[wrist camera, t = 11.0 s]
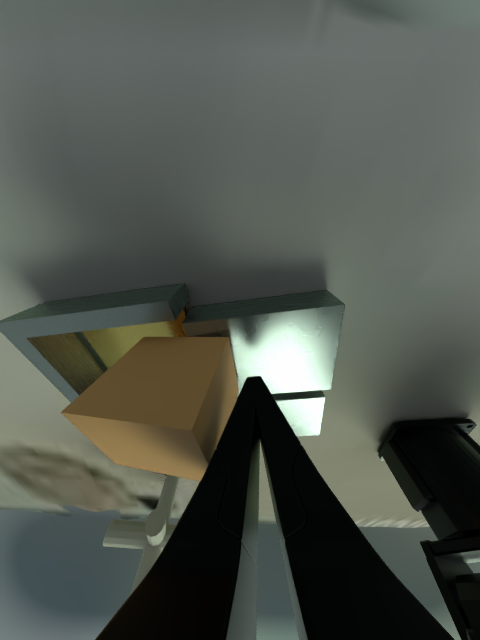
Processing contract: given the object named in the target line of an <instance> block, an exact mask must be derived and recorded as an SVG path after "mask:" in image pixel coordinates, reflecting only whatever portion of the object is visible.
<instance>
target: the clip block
mask: <svg viewBox="0 0 480 640" xmlns="http://www.w3.org/2000/svg"><path fill="white" fill-rule="evenodd" d="M238 391H239V388H238V383H237V377H236V372H235V367H234V362H233V357H232V352H231V346H230V341H229V337H143V338H142V339H141V340H140V341H139V342H138V343H137V344H135V345H134V346H133V347H132V348H131V349H130V350H129V351H128V352H127V353H126V354H124V355H123V356H122V357H121V358H120V359H119V360H118V361H117V362H116V363H115V364H114V365H112V366H111V367H110V368H109V369H108V370H107V371H106V372H105V373H104V374H103V375H101V376H100V377H99V378H98V379H97V380H96V381H95V382H94V383H93V384H92V385H90V386H89V387H88V388H87V389H86V390H85V391H84V392H83V393H82V394H81V395H79V396H78V397H77V398H76V399H75V400H74V401H73V402H72V403H71V404H70V405H68V406H67V407H66V408H65V409H64V410H63V411H62V412H61V413H62V414H63V415H64V416H65V417H66V418H67V419H68V420H69V421H70V422H71V423H72V424H73V425H75V426H76V427H77V428H78V429H79V430H80V431H81V432H82V433H83V434H84V435H85V436H86V437H87V438H88V439H89V440H90V441H92V442H93V443H94V444H95V445H96V446H97V447H98V448H99V449H100V450H101V451H102V452H103V453H104V454H105V455H106V456H108V457H109V458H110V459H111V460H112V461H113V462H114V463H115V464H118V465H123V466H127V467H132V468H137V469H142V470H147V471H152V472H157V473H162V474H167V475H172V476H177V477H182V478H186V479H191V480H196V481H201V479H202V477H203V475H204V473H205V471H206V469H207V467H208V464H209V462H210V460H211V458H212V456H213V453H214V451H215V449H216V447H217V444H218V442H219V440H220V437H221V435H222V433H223V430H224V428H225V426H226V423H227V421H228V419H229V417H230V414H231V412H232V410H233V407H234V405H235V403H236V400H237V396H238Z"/></svg>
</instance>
